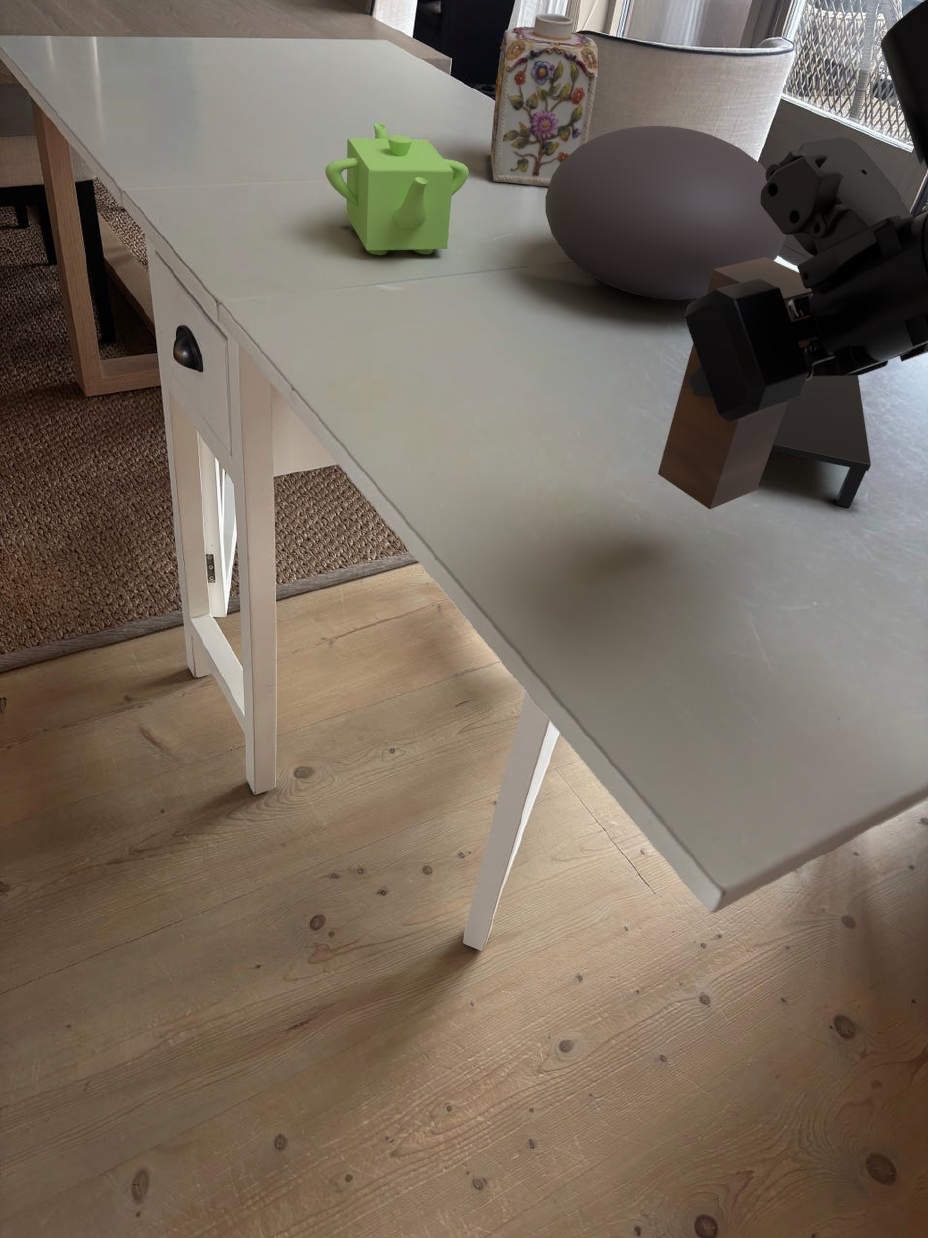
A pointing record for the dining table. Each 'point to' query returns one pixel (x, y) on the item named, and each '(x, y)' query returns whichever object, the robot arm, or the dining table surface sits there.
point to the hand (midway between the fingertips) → (720, 377)
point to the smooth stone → (660, 210)
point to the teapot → (397, 191)
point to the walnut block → (703, 440)
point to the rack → (828, 429)
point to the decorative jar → (541, 99)
